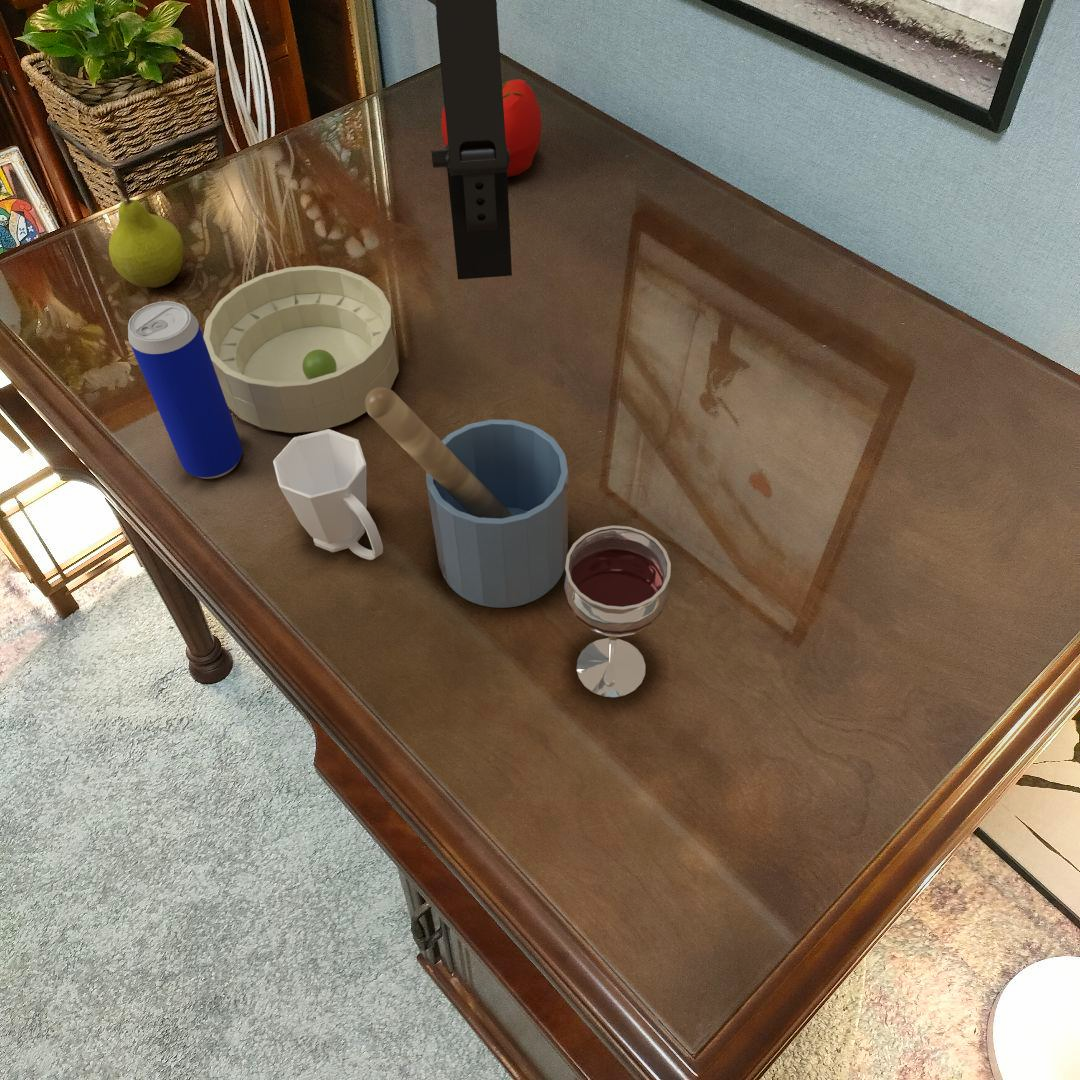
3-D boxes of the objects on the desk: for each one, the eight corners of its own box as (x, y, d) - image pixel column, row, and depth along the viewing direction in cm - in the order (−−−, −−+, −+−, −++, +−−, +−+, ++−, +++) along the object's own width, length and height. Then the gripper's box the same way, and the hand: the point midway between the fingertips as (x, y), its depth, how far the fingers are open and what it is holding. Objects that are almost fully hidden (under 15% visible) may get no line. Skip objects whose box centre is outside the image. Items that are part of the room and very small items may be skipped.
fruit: (135, 258, 105) (93, 151, 96) (200, 259, 105) (165, 151, 96) (115, 301, 101) (69, 192, 92) (183, 301, 101) (144, 193, 91)
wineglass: (674, 690, 72) (690, 591, 63) (585, 721, 71) (588, 624, 61) (635, 616, 76) (645, 512, 67) (550, 644, 75) (548, 542, 65)
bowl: (212, 444, 88) (193, 393, 84) (230, 324, 98) (213, 272, 94) (400, 429, 89) (391, 378, 84) (398, 311, 99) (390, 259, 94)
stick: (514, 564, 79) (358, 412, 65) (510, 542, 81) (357, 389, 66) (538, 553, 79) (386, 397, 64) (534, 531, 80) (385, 374, 66)
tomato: (551, 141, 118) (550, 64, 111) (526, 199, 111) (524, 120, 104) (462, 131, 120) (456, 55, 113) (432, 188, 112) (423, 110, 105)
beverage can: (221, 429, 89) (170, 289, 78) (256, 459, 87) (208, 319, 75) (171, 460, 87) (110, 321, 75) (205, 492, 85) (148, 353, 73)
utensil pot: (441, 614, 77) (428, 530, 69) (437, 512, 83) (424, 424, 75) (573, 602, 77) (575, 517, 69) (559, 501, 83) (559, 413, 76)
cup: (348, 484, 85) (331, 414, 79) (421, 554, 80) (409, 486, 74) (277, 528, 82) (253, 459, 76) (348, 603, 77) (329, 536, 71)
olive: (314, 337, 91) (333, 350, 89) (329, 359, 93) (348, 372, 92) (290, 360, 90) (309, 374, 89) (305, 381, 93) (324, 395, 91)
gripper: (577, -200, 31) (572, 341, 48) (512, -375, 47) (525, 78, 63) (330, -187, 31) (411, 353, 47) (348, -368, 46) (404, 86, 63)
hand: (476, 197), depth 55 cm, fingers open, 13 cm apart
